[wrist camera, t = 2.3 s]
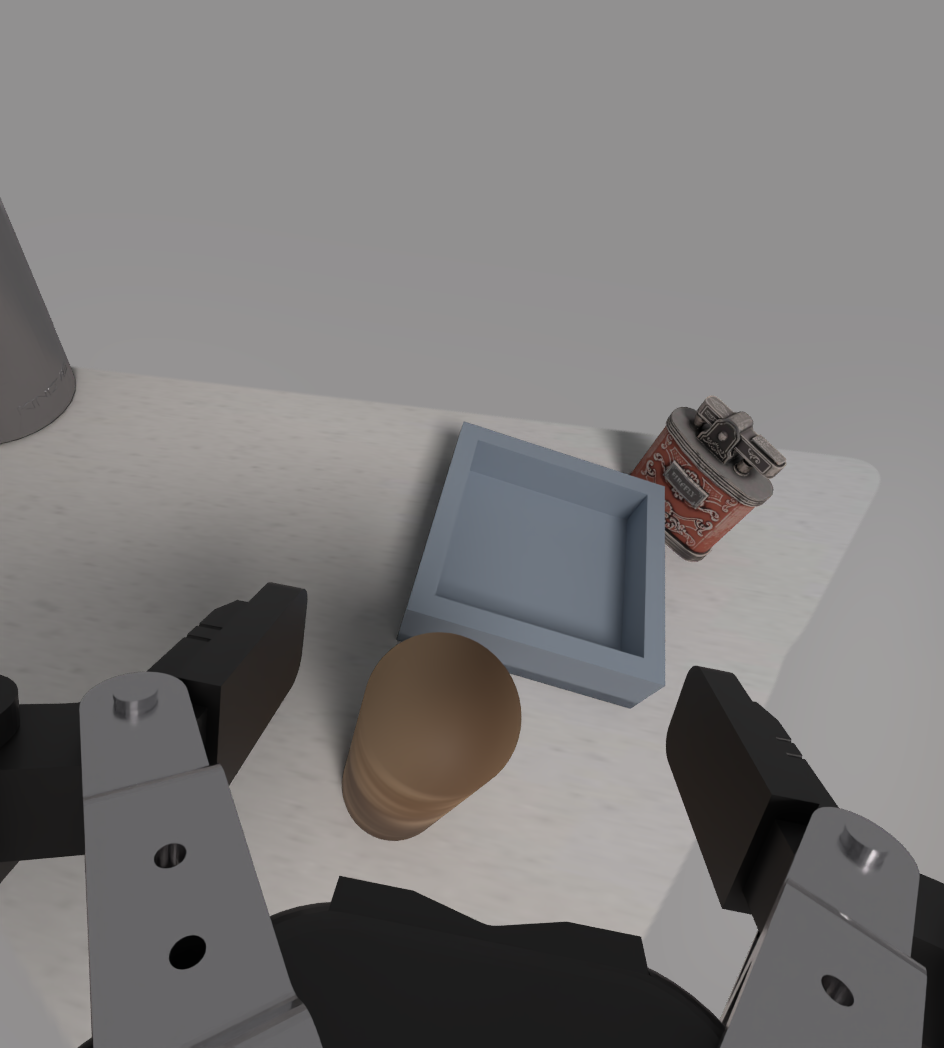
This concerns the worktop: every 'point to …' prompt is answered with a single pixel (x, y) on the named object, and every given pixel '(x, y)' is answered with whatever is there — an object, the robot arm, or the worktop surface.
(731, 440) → the lighter
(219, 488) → the worktop surface
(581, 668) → the tray
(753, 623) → the worktop surface
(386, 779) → the canister
